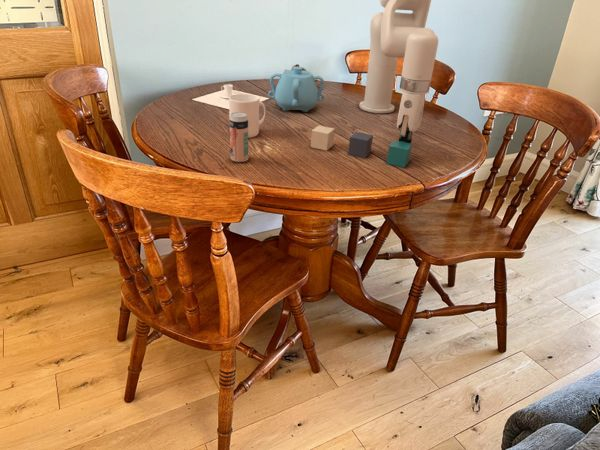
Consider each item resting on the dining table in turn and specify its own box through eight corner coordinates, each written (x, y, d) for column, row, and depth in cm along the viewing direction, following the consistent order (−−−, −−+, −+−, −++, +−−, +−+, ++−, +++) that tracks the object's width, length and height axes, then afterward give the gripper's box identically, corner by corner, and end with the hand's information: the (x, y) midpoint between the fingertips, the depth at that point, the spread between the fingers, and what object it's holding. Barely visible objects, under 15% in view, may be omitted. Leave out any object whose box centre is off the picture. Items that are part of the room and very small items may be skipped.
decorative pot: (263, 104, 164) (264, 64, 157) (300, 98, 172) (302, 60, 165) (290, 117, 153) (291, 75, 146) (328, 110, 161) (331, 70, 154)
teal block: (391, 157, 127) (393, 140, 124) (409, 160, 125) (412, 143, 123) (386, 163, 123) (389, 145, 120) (404, 167, 121) (408, 149, 119)
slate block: (353, 148, 131) (355, 131, 129) (370, 152, 130) (373, 135, 127) (348, 154, 127) (349, 137, 125) (365, 158, 126) (367, 140, 123)
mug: (274, 133, 139) (274, 97, 133) (240, 140, 132) (240, 103, 126) (257, 125, 144) (257, 90, 139) (224, 132, 137) (223, 96, 132)
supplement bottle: (230, 155, 122) (229, 111, 116) (248, 156, 123) (248, 111, 116) (229, 163, 118) (228, 117, 112) (248, 163, 119) (248, 117, 112)
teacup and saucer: (245, 96, 170) (245, 85, 168) (231, 101, 164) (231, 89, 162) (227, 92, 174) (227, 81, 172) (213, 96, 168) (212, 85, 166)
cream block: (317, 141, 134) (318, 125, 132) (333, 145, 133) (334, 128, 130) (310, 147, 130) (311, 130, 128) (326, 150, 129) (328, 133, 126)
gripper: (423, 93, 111) (410, 164, 120) (434, 81, 123) (422, 146, 132) (393, 88, 113) (382, 158, 123) (407, 76, 125) (396, 141, 135)
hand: (403, 151), depth 127 cm, fingers closed
